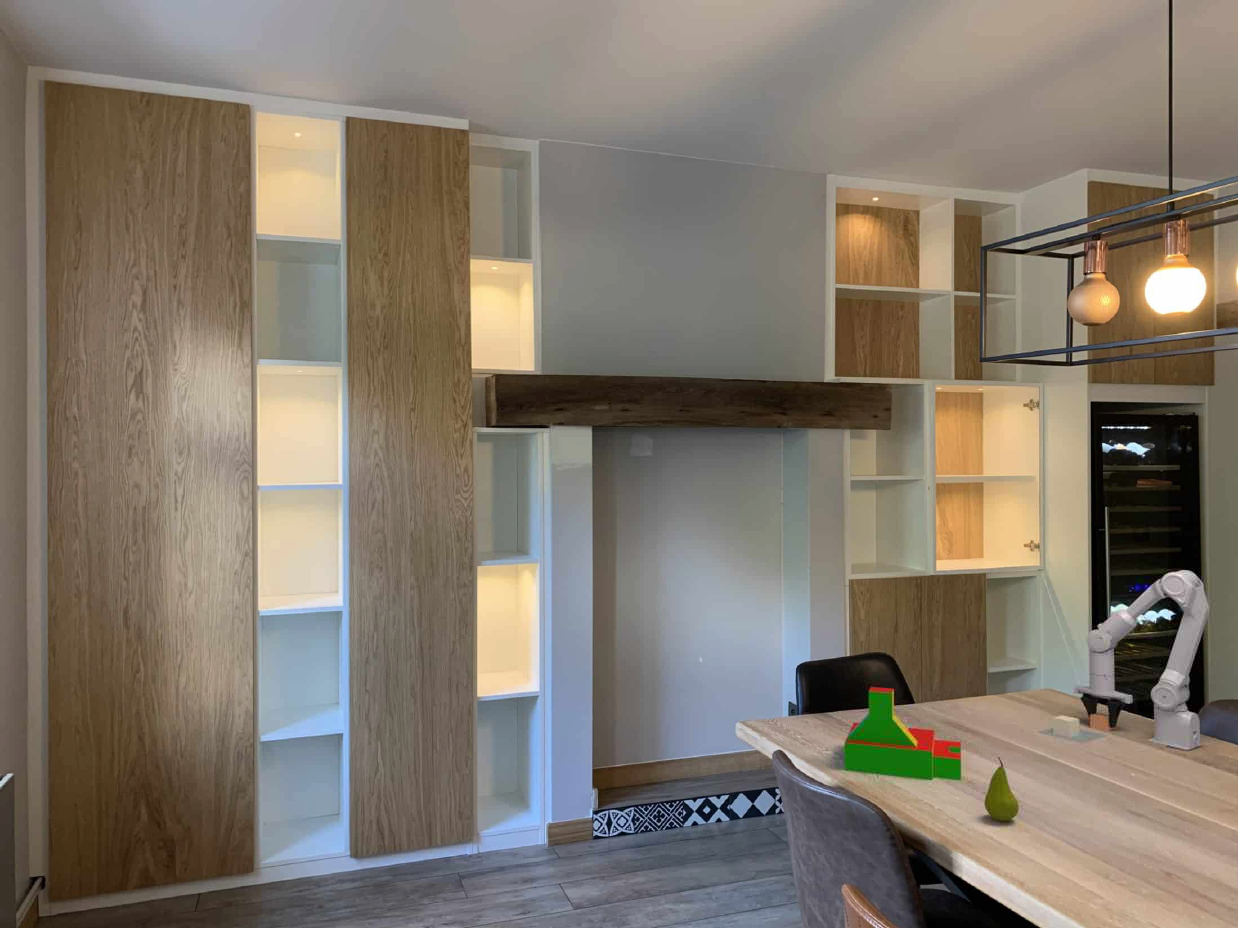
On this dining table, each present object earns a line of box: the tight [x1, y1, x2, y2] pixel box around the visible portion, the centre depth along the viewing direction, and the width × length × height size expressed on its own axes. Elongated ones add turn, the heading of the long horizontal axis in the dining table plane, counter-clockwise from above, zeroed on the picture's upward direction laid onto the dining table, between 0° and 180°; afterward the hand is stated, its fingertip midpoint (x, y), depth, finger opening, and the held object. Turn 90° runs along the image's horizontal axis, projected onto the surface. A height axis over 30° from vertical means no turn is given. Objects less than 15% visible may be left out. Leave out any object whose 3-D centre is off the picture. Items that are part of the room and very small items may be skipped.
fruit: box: [984, 756, 1020, 822], centre depth 172 cm, size 6×6×12 cm
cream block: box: [1052, 714, 1080, 737], centre depth 231 cm, size 4×4×4 cm
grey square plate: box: [1037, 727, 1107, 744], centre depth 231 cm, size 12×12×1 cm
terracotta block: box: [1089, 712, 1117, 733], centre depth 236 cm, size 4×4×4 cm
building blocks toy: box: [844, 686, 962, 781], centre depth 207 cm, size 19×25×18 cm
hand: (1102, 725), depth 236 cm, fingers closed on terracotta block, 4 cm apart
